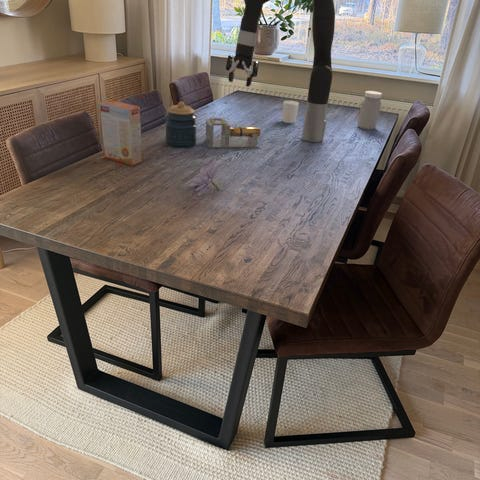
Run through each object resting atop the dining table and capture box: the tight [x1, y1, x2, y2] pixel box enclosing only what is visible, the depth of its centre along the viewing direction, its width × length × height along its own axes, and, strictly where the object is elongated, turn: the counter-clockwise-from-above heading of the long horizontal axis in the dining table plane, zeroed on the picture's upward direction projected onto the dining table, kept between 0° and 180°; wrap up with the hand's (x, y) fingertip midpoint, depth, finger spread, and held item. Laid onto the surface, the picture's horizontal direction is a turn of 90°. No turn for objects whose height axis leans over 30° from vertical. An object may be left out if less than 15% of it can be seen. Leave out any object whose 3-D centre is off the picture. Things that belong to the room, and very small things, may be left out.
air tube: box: [229, 126, 261, 138], centre depth 191 cm, size 13×4×4 cm, turn 103°
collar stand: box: [204, 117, 260, 149], centre depth 190 cm, size 22×11×10 cm, turn 103°
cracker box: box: [99, 100, 143, 166], centre depth 161 cm, size 14×6×21 cm, turn 59°
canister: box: [164, 101, 197, 149], centre depth 184 cm, size 13×13×18 cm
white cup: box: [282, 100, 300, 124], centre depth 229 cm, size 8×8×10 cm
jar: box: [356, 90, 383, 131], centre depth 228 cm, size 10×10×18 cm
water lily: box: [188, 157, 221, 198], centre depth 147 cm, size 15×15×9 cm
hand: (239, 84), depth 189 cm, fingers open, 8 cm apart
